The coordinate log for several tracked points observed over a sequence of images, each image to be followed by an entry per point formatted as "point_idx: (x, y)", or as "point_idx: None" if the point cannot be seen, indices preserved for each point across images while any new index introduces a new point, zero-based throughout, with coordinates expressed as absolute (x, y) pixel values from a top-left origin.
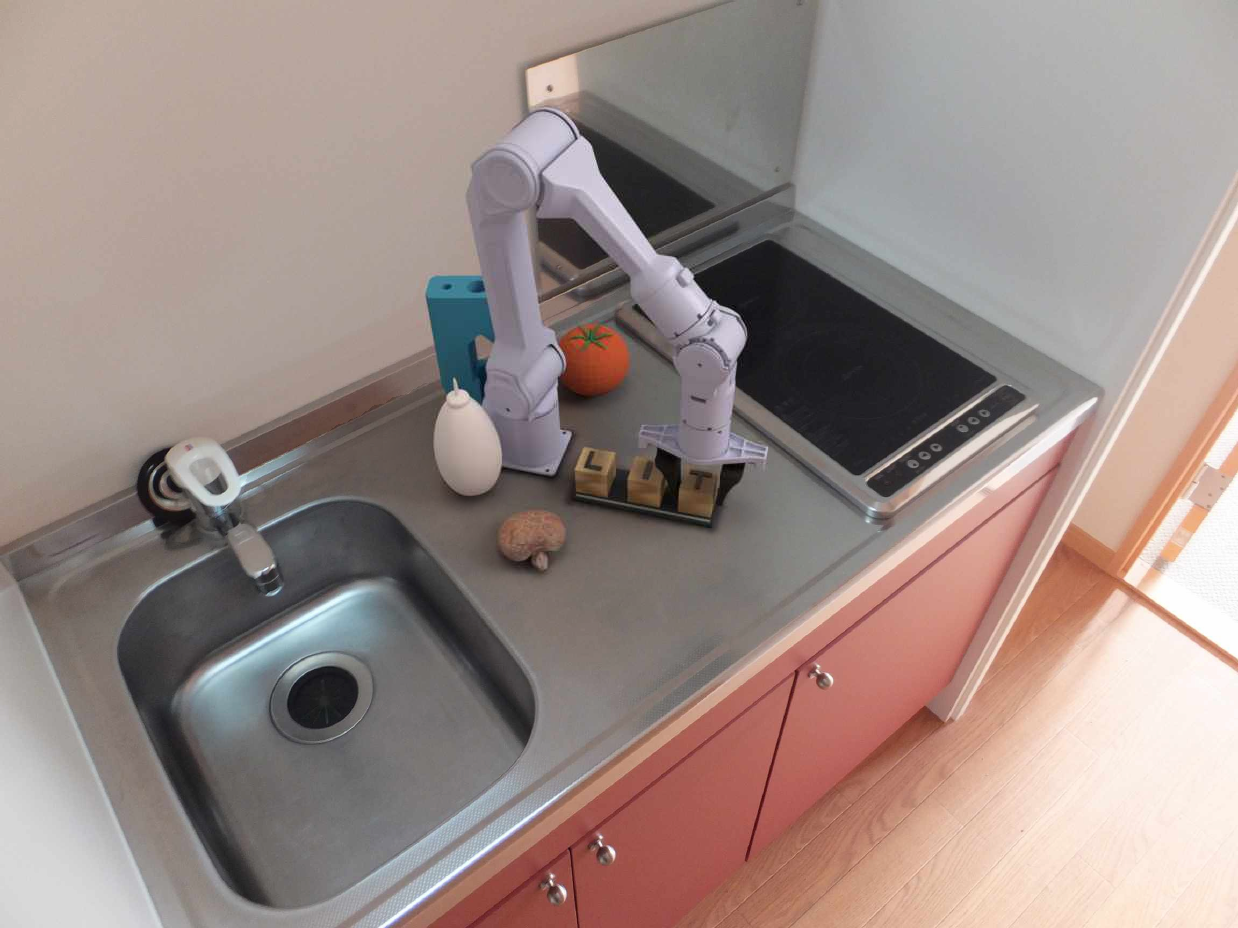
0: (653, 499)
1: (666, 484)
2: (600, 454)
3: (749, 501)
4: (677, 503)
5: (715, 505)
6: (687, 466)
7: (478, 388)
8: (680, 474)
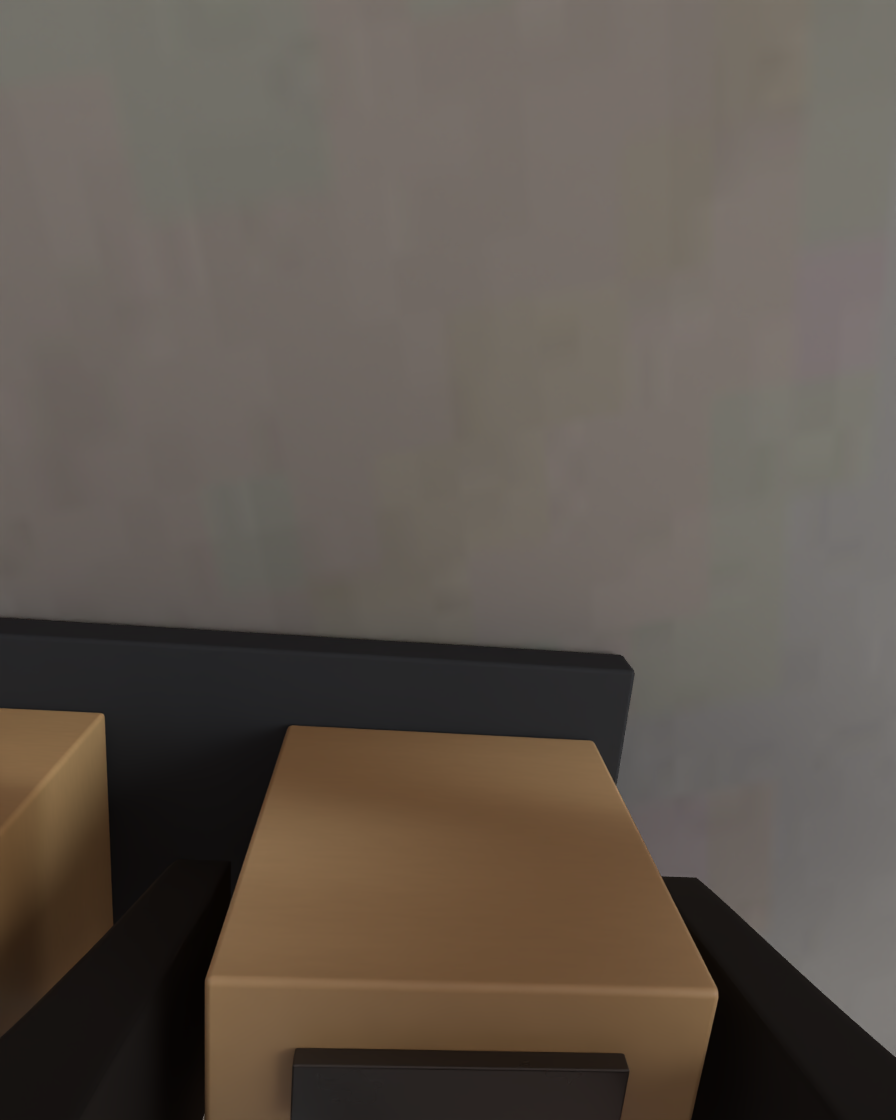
0: None
1: (100, 740)
2: None
3: (862, 708)
4: None
5: None
6: (228, 993)
7: None
8: (173, 985)
